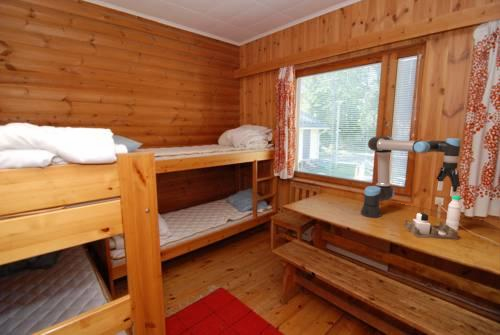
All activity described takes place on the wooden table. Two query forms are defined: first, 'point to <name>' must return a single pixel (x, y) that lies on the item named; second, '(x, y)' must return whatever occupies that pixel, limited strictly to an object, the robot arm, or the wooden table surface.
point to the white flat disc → (441, 232)
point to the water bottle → (454, 212)
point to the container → (422, 223)
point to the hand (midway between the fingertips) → (446, 193)
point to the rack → (433, 231)
